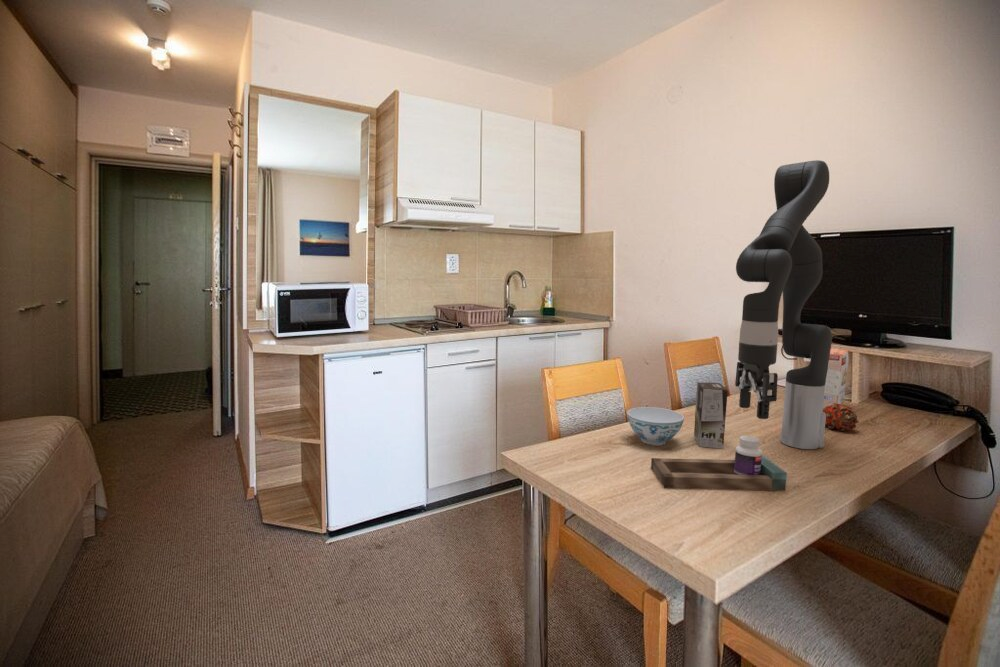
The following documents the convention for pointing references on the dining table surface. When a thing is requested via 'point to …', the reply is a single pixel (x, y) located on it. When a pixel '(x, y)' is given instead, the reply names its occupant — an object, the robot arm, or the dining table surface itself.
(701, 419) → the coffee box
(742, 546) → the dining table surface
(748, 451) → the pill bottle
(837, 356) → the cracker box
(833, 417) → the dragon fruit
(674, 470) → the channel
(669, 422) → the chinaware
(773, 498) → the dining table surface
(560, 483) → the dining table surface
